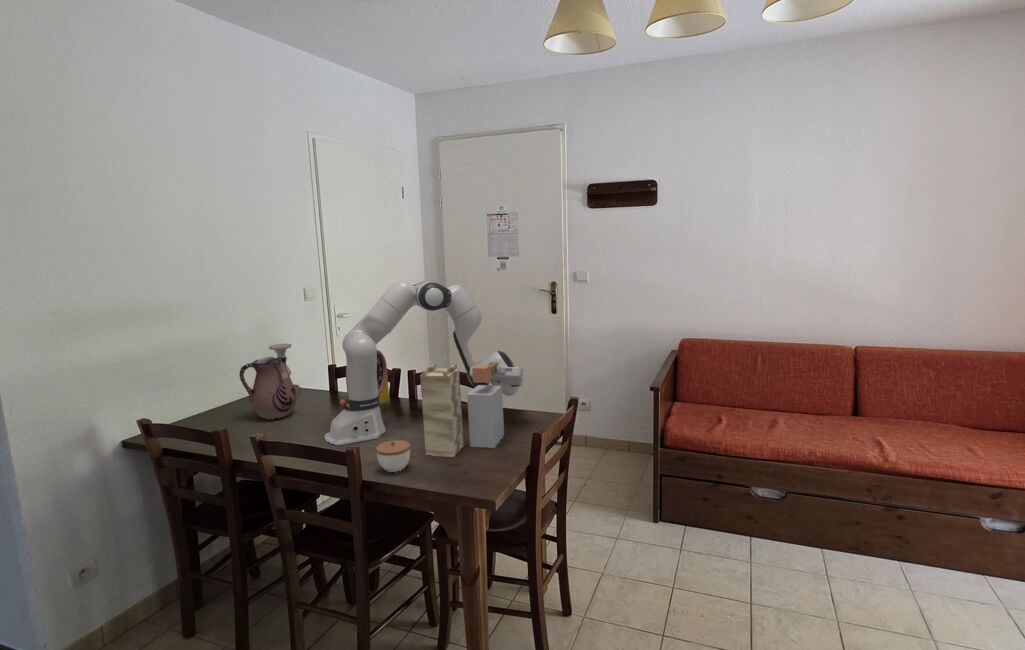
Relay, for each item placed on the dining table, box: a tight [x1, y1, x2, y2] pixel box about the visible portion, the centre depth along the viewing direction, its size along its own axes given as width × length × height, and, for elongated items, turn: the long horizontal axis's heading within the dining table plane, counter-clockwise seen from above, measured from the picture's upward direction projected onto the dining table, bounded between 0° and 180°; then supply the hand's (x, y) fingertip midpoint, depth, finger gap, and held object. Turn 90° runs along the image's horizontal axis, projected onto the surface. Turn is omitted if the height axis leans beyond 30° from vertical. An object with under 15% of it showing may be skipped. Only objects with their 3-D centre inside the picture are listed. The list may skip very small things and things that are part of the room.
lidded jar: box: [375, 439, 411, 473], centre depth 191 cm, size 11×11×9 cm
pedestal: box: [466, 384, 505, 449], centre depth 211 cm, size 12×9×19 cm
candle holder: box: [268, 343, 302, 392], centre depth 287 cm, size 11×11×24 cm
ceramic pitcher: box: [238, 356, 297, 420], centre depth 250 cm, size 18×21×25 cm
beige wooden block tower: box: [419, 363, 464, 458], centre depth 203 cm, size 10×10×30 cm
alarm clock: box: [345, 349, 390, 404], centre depth 262 cm, size 21×9×26 cm, turn 164°
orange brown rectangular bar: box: [472, 362, 498, 383], centre depth 212 cm, size 18×5×5 cm, turn 165°
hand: (491, 367), depth 216 cm, fingers closed on orange brown rectangular bar, 3 cm apart
